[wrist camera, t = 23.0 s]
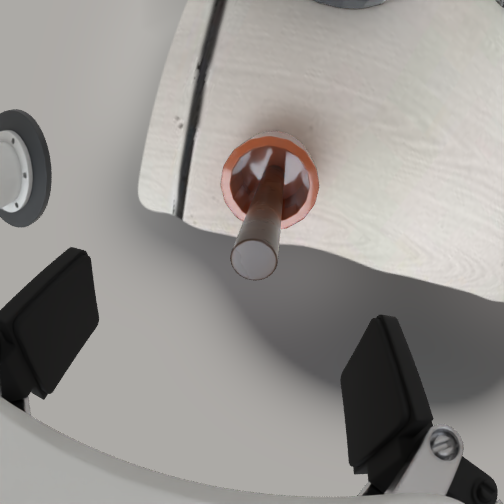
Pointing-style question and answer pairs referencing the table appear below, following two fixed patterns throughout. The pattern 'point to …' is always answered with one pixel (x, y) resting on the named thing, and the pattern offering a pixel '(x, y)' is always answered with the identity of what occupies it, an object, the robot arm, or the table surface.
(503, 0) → the cup
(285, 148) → the holder
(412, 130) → the table surface
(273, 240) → the stick
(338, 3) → the bowl
